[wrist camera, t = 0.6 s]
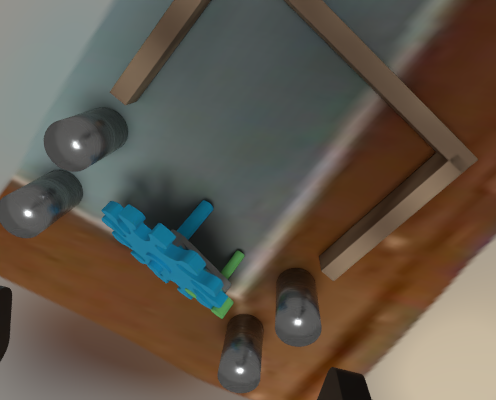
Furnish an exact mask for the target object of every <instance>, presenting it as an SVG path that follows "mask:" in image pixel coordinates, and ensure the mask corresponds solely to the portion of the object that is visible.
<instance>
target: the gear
mask: <svg viewBox="0 0 496 400" xmlns="http://www.w3.org/2000/svg"><path fill="white" fill-rule="evenodd" d="M101 211H102V212H103V213H104V214H105V216H104V217H103V218H102V221H103V222H104V223H105V224H106V225H107V226H109V227H110V228H112V229H113V230H114V231H113V232H112V234H113V236H114V237H115V238H116V239H117V240H118V241H119V242H120V243H122V244H124V245H126V246H128V247H129V248H131V249H132V250H133V251H132V252H131V254H132V255H133V256H134V257H135V258H136V259H137V260H138V261H139V262H141V263H143V264H148V265H147V266H148V267H149V268H150V269H151V270H152V271H153V272H154V273H155V274H156V275H157V276H158V277H159V278H160V279H161V280H163V281H164V282H165V283H168V282H169V281H170V280H171V281H173V282H175V283H176V284H177V285H178V286H179V287H178V291H179V292H181V293H182V294H183V295H185V296H186V297H188V298H189V299H192V298H193V297H194V298H196V299H197V300H198V301H199V302H200V303H201V304H202V305H204V306H206V307H208V308H210V309H211V311H212V312H213V313H214V314H215V315H217V316H218V317H220V318H222V319H223V317H224V316H225V315H226V313H227V312H228V310H229V309H230V307H231V306H232V305H233V301H232V300H231V299H230V298H229V297H228V296H227V295H226V294H225V293H226V292H227V290H228V289H229V288H230V286H231V283H230V282H229V281H228V278H229V277H230V276H231V274H232V273H233V272H234V270H235V269H236V268H237V266H238V265H239V263H240V262H241V261H242V259H243V258H244V255H243V253H241V252H240V251H236V252H235V254H234V255H233V256H232V258H231V259H230V260H229V262H228V263H227V264H226V266H225V267H224V268H223V270H222V271H221V272H219V271H218V270H217V269H216V268H215V267H214V266H213V265H212V264H211V263H210V262H209V261H208V260H207V259H206V258H205V257H204V256H203V255H202V254H201V253H200V252H199V251H198V250H197V249H196V248H195V247H194V246H193V245H192V244H191V243H190V242H189V241H188V240H189V238H190V237H191V236H192V235H193V234H194V232H195V231H196V230H197V229H198V228H199V226H200V225H201V224H202V223H203V222H204V220H205V219H206V218H207V217H208V216H209V214H210V213H211V212H212V211H213V207H212V205H211V204H210V203H209V202H207V201H205V200H203V201H202V202H201V203H200V204H199V205H198V206H197V208H196V209H195V210H194V211H193V212H192V213H191V215H190V216H189V217H188V218H187V219H186V220H185V222H184V223H183V224H182V225H181V226H180V227H179V229H178V230H177V231H176V230H171V231H170V230H169V229H168V228H166V227H165V226H164V225H163V224H161V223H158V224H157V225H156V226H155V227H154V229H153V230H151V229H150V228H148V227H147V226H146V225H145V224H144V223H143V221H144V220H145V219H146V218H145V216H144V214H143V213H142V212H140V211H139V210H137V209H136V208H134V207H133V206H131V205H129V204H128V205H127V206H126V207H125V208H123V207H122V206H121V205H120V204H119V203H117V202H114V201H110V202H109V203H108V204H107V205H106V206H105V207H104V208H103V209H102V210H101Z"/></svg>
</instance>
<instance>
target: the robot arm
mask: <svg viewBox="0 0 496 400" xmlns="http://www.w3.org/2000/svg"><path fill="white" fill-rule="evenodd" d="M11 307H12V291H11V289H10V288H8V287H3V286H0V361H1V359H2V358H3V356H4V354H5V352H6V350H7V347H8V344H9V338H10V323H11V322H10V321H11ZM317 400H371V397H370V393H369V390H368V387H367V384H366V381H365V378H364V376H363V375H362V374H359V373H355V372H351V371H347V370H342V369H338V368H334V367H332V368H330V369H329V371H328V373H327V376H326V378H325V381H324V383H323V386H322V388H321V391H320V394H319V396H318V399H317Z"/></svg>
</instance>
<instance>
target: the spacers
mask: <svg viewBox="0 0 496 400" xmlns="http://www.w3.org/2000/svg"><path fill="white" fill-rule="evenodd" d="M127 135H128V130H127V125H126V123H125V121H124V119H123V118H122V116H121V115H120V114H119V113H117V112H116V111H114V110H112V109H110V108H97V109H94V110H91V111H88V112H85V113H81V114H78V115H75V116H72V117H69V118H66V119H63V120H59V121H56V122H54V123H53V124H51V125H50V126H49V127H48V129H47V130H46V132H45V135H44V147H45V150H46V153H47V155H48V156H49V158H50V159H51V160H52V162H53V163H55V164H56V165H57V166H58V167H60V168H62V169H64V170H67V171H72V172H76V171H81V170H84V169H86V168H87V167H89V166H91V165H92V164H94V163H96V162H97V161H99V160H101V159H102V158H104V157H105V156H107V155H109V154H110V153H112V152H114V151H115V150H117V149H119V148H120V147H122V146H123V145H124V143H125V142H126V139H127ZM82 196H83V191H82V186H81V184H80V182H79V181H78V179H77V178H76V177H75V176H74V175H72V174H71V173H69V172H66V171H63V170H55V171H52V172H50V173H48V174H46V175H44V176H42V177H40V178H39V179H37V180H35V181H33V182H31V183H29V184H27V185H25V186H23V187H21V188H20V189H18V190H16V191H14V192H12V193H10V194H8V195H6V196H5V197H3V198H2V199H1V200H0V222H1V224H2V225H3V227H4V228H5V229H6V230H7V231H9V232H10V233H11V234H13V235H15V236H18V237H21V238H32V237H35V236H36V235H38V234H39V233H41V232H42V231H43V230H45V229H46V228H47V227H49V226H50V225H51V224H53V223H54V222H55V221H57V220H58V219H59V218H60V217H62V216H63V215H64V214H66V213H67V212H68V211H70V210H71V209H72V208H74V207H75V206H76V205H78V204H79V203H80V201H81V199H82ZM275 330H276V334H277V336H278V337H279V338H280V339H281V340H282V341H283V342H284V343H286V344H288V345H291V346H297V347H301V346H306V345H309V344H311V343H313V342H315V341H316V340H317V339H318V337H319V336H320V334H321V321H320V313H319V306H318V299H317V292H316V284H315V280H314V278H313V276H312V275H311V274H310V273H309V272H307V271H305V270H303V269H298V268H293V269H289V270H286V271H284V272H283V273H282V274H281V275H280V276H279V277H278V279H277V285H276V320H275ZM262 344H263V326H262V324H261V322H260V321H259V320H258V319H257V318H255V317H253V316H251V315H245V314H243V315H237V316H235V317H233V318H232V319H231V320H230V321H229V323H228V326H227V331H226V335H225V340H224V345H223V350H222V355H221V360H220V365H219V370H218V380H219V382H220V383H221V385H222V386H223V387H224V388H226V389H227V390H229V391H232V392H235V393H247V392H250V391H252V390H254V389H255V388H256V387H257V386H258V384H259V382H260V372H261V358H262Z"/></svg>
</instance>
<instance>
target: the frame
mask: <svg viewBox="0 0 496 400" xmlns="http://www.w3.org/2000/svg"><path fill="white" fill-rule="evenodd" d="M210 1H211V0H174V1H173V2H172V4H171V5H170V7H169V8H168V9H167V11H166V12H165V14H164V15H163V17H162V18H161V19H160V21H159V22H158V24H157V25H156V27H155V28H154V29H153V31H152V32H151V34H150V35H149V37H148V38H147V39H146V41H145V42H144V44H143V45H142V47H141V48H140V49H139V51H138V52H137V54H136V55H135V57H134V58H133V59H132V61H131V62H130V64H129V65H128V67H127V68H126V69H125V71H124V72H123V74H122V75H121V77H120V78H119V79H118V81H117V82H116V84H115V85H114V87H113V88H112V89H111V91H110V93H111V94H112V95H114V96H115V97H116V98H117V99H118V100H120V101H121V102H122V103H123V104H124V105H128V104H131V103H134V102H136V101H137V100H138V99H139V98H140V96H141V95H142V94H143V92H144V91H145V89H146V88H147V87H148V85H149V84H150V83H151V81H152V80H153V79H154V77H155V76H156V75H157V73H158V72H159V70H160V69H161V68H162V66H163V65H164V64H165V62H166V61H167V60H168V58H169V57H170V56H171V54H172V53H173V51H174V50H175V49H176V47H177V46H178V45H179V43H180V42H181V41H182V39H183V38H184V37H185V35H186V34H187V32H188V31H189V30H190V28H191V27H192V26H193V24H194V23H195V22H196V20H197V19H198V18H199V16H200V15H201V13H202V12H203V11H204V9H205V8H206V7H207V5H208V4H209V3H210ZM284 1H285V2H286V3H287V4H288V5H289V6H290V7H291V8H292V9H293V10H294V11H295V12H296V13H297V14H298V15H299V16H300V17H301V18H302V19H303V20H304V21H305V22H306V23H307V24H308V25H309V26H310V27H311V28H312V29H313V30H314V31H315V32H316V33H317V34H318V35H319V36H320V37H321V38H322V39H323V40H324V41H325V42H326V43H327V44H328V45H329V46H330V47H331V48H332V49H333V50H334V51H335V52H336V53H337V54H338V55H339V56H340V57H341V58H342V59H343V60H344V61H345V62H346V63H347V64H348V65H349V66H350V67H351V68H352V69H353V70H354V71H355V72H356V73H357V74H358V75H359V76H360V77H361V78H362V79H363V80H364V81H365V82H366V83H367V84H368V85H369V86H370V87H371V88H372V89H373V90H374V91H375V92H376V93H377V94H378V95H379V96H380V97H381V98H382V99H383V100H384V101H385V102H386V103H387V104H388V105H389V106H390V107H391V108H392V109H393V110H394V111H395V112H396V113H397V114H398V115H399V116H401V117H402V118H403V119H404V120H405V121H406V122H407V123H408V124H409V125H410V126H411V127H412V128H413V129H414V130H415V131H416V132H417V133H418V134H419V135H420V136H421V137H422V138H423V139H424V140H425V141H426V142H427V143H428V144H429V145H430V146H431V147H432V148H433V149H434V150H435V151H436V152H437V153H436V154H434V155H433V156H432V157H431V158H430V159H429V160H428V161H427V162H425V163H424V164H423V165H422V166H421V167H420V168H419V169H417V170H416V171H415V172H414V173H413V174H412V175H411V176H410V177H408V178H407V179H406V180H405V181H404V182H403V183H402V184H401V185H399V186H398V187H397V188H396V189H395V190H394V191H393V192H392V193H390V194H389V195H388V196H387V197H386V198H385V199H384V200H382V201H381V202H380V203H379V204H378V205H377V206H376V207H375V208H373V209H372V210H371V211H370V212H369V213H368V214H367V215H366V216H364V217H363V218H362V219H361V220H360V221H359V222H358V223H356V224H355V225H354V226H353V227H352V228H351V229H350V230H349V231H347V232H346V233H345V234H344V235H343V236H342V237H341V238H340V239H338V240H337V241H336V242H335V243H334V244H333V245H332V246H330V247H329V248H328V249H327V250H326V251H325V252H324V253H323V254H321V255H320V256H319V260H320V266H321V271H322V272H323V273H325V274H326V275H327V276H328V277H329V278H330V279H332V280H333V281H334V280H336V279H337V278H338V277H339V276H340V275H342V274H343V273H344V272H345V271H346V270H347V269H349V268H350V267H351V266H352V265H353V264H355V263H356V262H357V261H358V260H359V259H361V258H362V257H363V256H364V255H365V254H367V253H368V252H369V251H370V250H371V249H372V248H374V247H375V246H376V245H377V244H378V243H380V242H381V241H382V240H383V239H384V238H386V237H387V236H388V235H389V234H390V233H391V232H393V231H394V230H395V229H396V228H397V227H399V226H400V225H401V224H402V223H403V222H405V221H406V220H407V219H408V218H409V217H410V216H412V215H413V214H414V213H415V212H416V211H418V210H419V209H420V208H421V207H422V206H424V205H425V204H426V203H427V202H428V201H429V200H431V199H432V198H433V197H434V196H435V195H437V194H438V193H439V192H440V191H441V190H443V189H444V188H445V187H446V186H447V185H448V184H450V183H451V182H452V181H453V180H454V179H456V178H457V177H458V176H459V175H460V174H462V173H463V172H464V171H465V170H466V169H467V168H469V167H470V166H471V165H472V164H473V163H475V162H476V161H477V160H478V159H477V158H476V157H475V156H474V155H473V154H472V153H471V152H470V151H469V150H468V149H467V148H466V147H465V145H464V144H463V143H462V142H461V141H460V140H459V139H458V138H457V137H456V136H455V135H454V134H453V133H452V132H451V131H450V130H449V129H448V128H447V127H446V126H445V125H444V124H443V123H442V122H441V121H440V120H439V119H438V118H437V117H436V116H435V115H434V114H433V113H432V112H431V111H430V110H429V109H428V108H427V107H426V106H425V105H424V104H423V103H422V102H421V101H420V100H419V99H418V98H417V97H416V96H415V94H414V93H413V92H412V91H411V90H410V89H409V88H408V87H407V86H406V85H405V84H404V83H403V82H402V81H401V80H400V79H399V78H398V77H397V76H396V75H395V74H394V73H393V72H392V71H391V70H390V69H389V68H388V67H387V66H386V65H385V64H384V63H383V62H382V61H381V60H380V59H379V58H378V57H377V56H376V55H375V54H374V53H373V52H372V51H371V50H370V49H369V48H368V47H367V46H366V45H365V44H364V42H363V41H362V40H361V39H360V38H359V37H358V36H357V35H356V34H355V33H354V32H353V31H352V30H351V29H350V28H349V27H348V26H347V25H346V24H345V23H344V22H343V21H342V20H341V19H340V18H339V17H338V16H337V15H336V14H335V13H334V12H333V11H332V10H331V9H330V8H329V7H328V6H327V5H326V4H325V3H324V2H323V1H322V0H284Z"/></svg>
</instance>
